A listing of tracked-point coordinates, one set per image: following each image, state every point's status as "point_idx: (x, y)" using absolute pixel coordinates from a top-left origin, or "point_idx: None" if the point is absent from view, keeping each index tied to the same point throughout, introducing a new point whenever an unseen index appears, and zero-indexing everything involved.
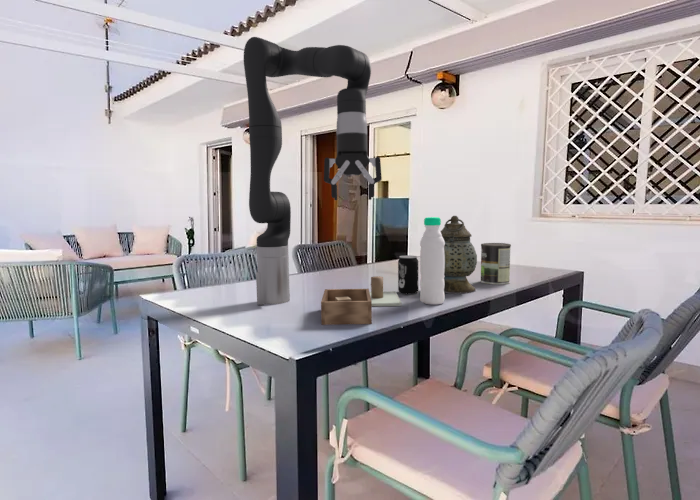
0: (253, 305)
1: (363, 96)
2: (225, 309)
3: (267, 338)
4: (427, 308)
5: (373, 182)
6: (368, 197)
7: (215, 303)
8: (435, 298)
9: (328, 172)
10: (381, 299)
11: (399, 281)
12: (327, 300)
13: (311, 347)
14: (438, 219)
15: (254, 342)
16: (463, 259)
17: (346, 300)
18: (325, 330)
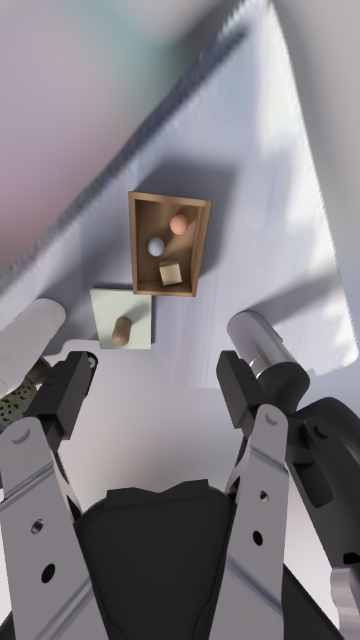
0: (266, 316)
1: None
2: (297, 302)
3: (279, 147)
4: (54, 281)
5: (12, 427)
6: (87, 373)
7: (301, 327)
8: (39, 301)
9: (344, 488)
10: (118, 311)
11: (93, 366)
12: (191, 278)
13: (229, 69)
14: None
15: (300, 127)
16: None
17: (166, 266)
18: (199, 179)
